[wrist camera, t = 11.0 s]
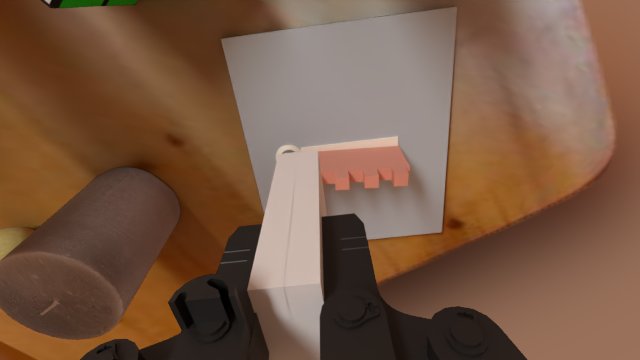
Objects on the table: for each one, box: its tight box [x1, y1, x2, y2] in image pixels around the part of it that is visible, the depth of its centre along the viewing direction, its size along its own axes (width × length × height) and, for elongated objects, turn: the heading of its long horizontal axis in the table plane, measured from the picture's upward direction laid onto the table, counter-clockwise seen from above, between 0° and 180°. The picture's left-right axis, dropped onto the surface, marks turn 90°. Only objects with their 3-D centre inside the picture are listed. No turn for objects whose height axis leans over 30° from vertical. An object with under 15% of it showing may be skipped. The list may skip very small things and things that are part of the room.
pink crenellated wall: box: [318, 146, 410, 190], centre depth 31 cm, size 1×10×6 cm, turn 94°
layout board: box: [221, 7, 457, 240], centre depth 34 cm, size 20×24×1 cm
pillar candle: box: [0, 167, 180, 340], centre depth 31 cm, size 10×10×15 cm
